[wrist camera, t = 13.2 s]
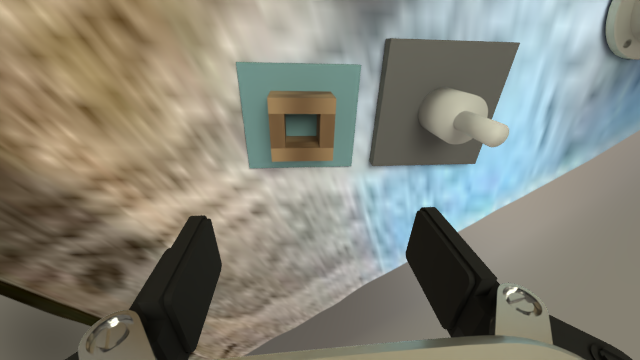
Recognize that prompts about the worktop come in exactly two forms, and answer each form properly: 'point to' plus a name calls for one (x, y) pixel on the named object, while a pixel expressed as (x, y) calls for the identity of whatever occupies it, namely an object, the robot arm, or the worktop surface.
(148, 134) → the worktop surface
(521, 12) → the worktop surface
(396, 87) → the stand
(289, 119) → the mat
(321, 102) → the walnut link
